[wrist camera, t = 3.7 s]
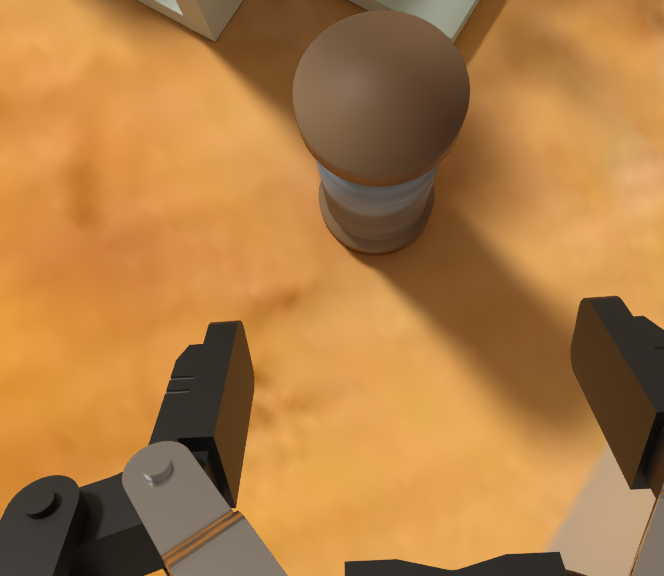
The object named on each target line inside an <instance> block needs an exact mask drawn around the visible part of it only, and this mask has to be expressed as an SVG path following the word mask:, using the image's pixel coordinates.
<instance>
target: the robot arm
mask: <svg viewBox="0 0 664 576" xmlns="http://www.w3.org/2000/svg"><path fill="white" fill-rule="evenodd" d="M571 363H572V368H573V371H574V374H575V376H576V378H577V380H578V382H579V384H580V386H581V388H582V390H583V392H584V395H585V397H586V399H587V401H588V403H589V405H590V407H591V409H592V411H593V413H594V415H595V417H596V419H597V421H598V423H599V426H600V428H601V430H602V432H603V434H604V436H605V438H606V440H607V442H608V444H609V446H610V448H611V450H612V452H613V454H614V457H615V458H616V461H617V463H618V465H619V467H620V469H621V471H622V473H623V475H624V477H625V479H626V481H627V483H628V485H629V487H630V489H649V488H650V489H651V490H652V492H653V494H654V496H655V498H656V500H655V503H654V505H653V508H652V511H651V513H650V516H649V519H648V522H647V525H646V527H645V530H644V533H643V536H642V539H641V541H640V544H639V547H638V550H637V553H636V555H635V558H634V561H633V564H632V566H631V569H630V572H629V575H628V576H664V330H663V329H662V328H660V327H659V326H657V325H656V324H654V323H653V322H652V321H650V320H649V319H647V318H646V317H644V316H634V317H633V315H632V314H631V312H630V311H629V310H628V308H627V307H626V305H625V304H624V302H623V301H622V299H621V298H620V297H618V296H607V297H592V298H583V299H582V300H581V302H580V305H579V310H578V315H577V320H576V325H575V330H574V335H573V340H572V345H571ZM166 391H167V393H166V394H165V396H164V399H163V402H162V405H161V408H160V412H159V415H158V418H157V421H156V424H155V427H154V430H153V433H152V436H151V439H150V442H149V445H148V446H147V447H145V448H143V449H141V450H140V451H138V452H137V453H136V454H135V455H134V456H133V457H132V458H131V459H130V460H129V462H128V463H127V464H126V466H125V468H124V471H123V472H121V473H119V474H117V475H115V476H112V477H110V478H107V479H104V480H101V481H98V482H95V483H92V484H89V485H85V486H82V487H78V485H77V483H76V482H75V481H74V480H73V479H71V478H69V477H66V476H61V475H53V476H48V477H44V478H41V479H39V480H36V481H34V482H32V483H31V484H29V485H27V486H26V487H25V488H23V489H22V490H21V491H20V492H18V493H17V494H16V495H15V496H14V498H13V499H12V500H11V501H10V503H9V504H8V506H7V508H6V509H5V512H4V514H3V516H2V518H1V520H0V576H144V575H147V574H150V573H152V572H155V571H158V570H160V569H163V570H164V572H165V574H166V576H287V574H286V573H285V572H284V570H283V569H282V568H281V566H280V565H279V563H278V562H277V561H276V559H275V558H274V556H273V555H272V554H271V552H270V551H269V550H268V548H267V547H266V545H265V544H264V543H263V541H262V540H261V539H260V537H259V536H258V534H257V533H256V532H255V530H254V529H253V528H252V526H251V525H250V523H249V522H248V521H247V519H246V518H245V517H244V516H243V515H242V514H241V513H240V512H239V511H236V512H235V513H234V512H233V511H232V509H231V508H236V504H237V497H238V491H239V484H240V478H241V471H242V465H243V459H244V452H245V446H246V439H247V433H248V426H249V420H250V414H251V407H252V401H253V394H254V371H253V365H252V361H251V357H250V352H249V348H248V343H247V339H246V335H245V330H244V326H243V323H242V322H241V321H226V322H212V323H210V324H209V326H208V329H207V333H206V336H205V340H204V343H203V344H197V345H189V346H188V347H187V348H186V350H185V351H184V352H183V353H182V354H181V355H180V356H179V358H178V359H177V360H176V362H175V366H174V369H173V372H172V375H171V380H170V381H169V384H168V387H167V390H166ZM345 576H587V575H584V574H580V573H577V572H574V571H570V570H566V569H565V567H564V564H563V561H562V558H561V555H560V552H547V553H525V554H506V555H502V556H499V557H496V558H493V559H490V560H487V561H484V562H480V563H477V564H474V565H471V566H468V567H465V568H462V569H458V570H446V569H441V568H436V567H431V566H427V565H422V564H417V563H412V562H407V561H402V560H398V559H393V560H371V561H349V562H345Z"/></svg>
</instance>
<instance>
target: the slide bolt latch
mask: <svg viewBox="0 0 664 576" xmlns="http://www.w3.org/2000/svg"><path fill="white" fill-rule="evenodd" d="M137 1H139V2H141V3H143V4H145V5H147V6H148V7H150V8H152V9H154V10H156V11H158V12H160V13H162V14H163V15H165V16H167V17H169V18H171V19H173V20H175V21H176V22H178V23H180V24H182V25H184V26H186V27H188V28H189V29H191V30H193V31H195V32H197V33H199V34H201V35H203V36H204V37H206V38H208V39H210V40H212V41H214V42H216V40H217V39H218V37H219V36H220V34H221V33H222V31H223V30H224V28H225V27H226V25H227V24H228V22H229V21H230V19H231V18H232V16H233V15H234V13H235V12H236V10H237V9H238V7H239V6H240V4H241V3H242V1H243V0H137ZM348 1H350V2H352V3H354V4H356V5H358V6H360V7H362V8H364V9H366V10H368V11H375V10H393V11H399V12H404V13H408V14H411V15H415V16H417V17H419V18H422V19H424V20H426V21H428V22H429V23H431V24H433V25H434V26H436V27H437V28H438V29H440V30H441V31H442V32H443V33H444V34H445V35H446V36H447V37H448V38H449V39H450V40H451V41H452V42H453V43H454V42H455V40H456V39H457V37H458V35H459V34H460V32H461V30H462V29H463V27H464V26H465V24H466V22H467V21H468V19H469V17H470V16H471V14H472V13H473V11H474V9H475V8H476V6H477V4H478V3H479V1H480V0H348Z"/></svg>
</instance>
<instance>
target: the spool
mask: <svg viewBox="0 0 664 576" xmlns="http://www.w3.org/2000/svg"><path fill="white" fill-rule="evenodd" d="M469 96H470V85H469V77H468V73H467V68H466V66H465V63H464V61H463V58H462V56H461V54H460V53H459V51H458V49H457V48H456V46H455V45H454V44H453V42H452V41H451V40H450V39H449V38H448V37H447V36H446V35H445V34H444V33H443V32H442V31H441V30H440V29H438V28H437V27H436V26H434V25H433V24H431V23H429V22H428V21H426V20H424V19H422V18H419V17H417V16H415V15H411V14H408V13H404V12H399V11H393V10H375V11H367V12H362V13H357V14H354V15H351V16H348V17H346V18H344V19H342V20H339V21H337V22H336V23H334V24H333V25H331V26H329V27H328V28H327V29H325V30H324V31H323V32H322V33H320V34H319V35H318V36H317V37H316V38H315V39H314V40H313V41H312V43H311V44H310V45H309V47H308V48H307V49H306V51H305V52H304V54H303V56H302V58H301V60H300V62H299V64H298V67H297V69H296V73H295V77H294V82H293V105H294V111H295V115H296V119H297V123H298V126H299V130H300V133H301V136H302V138H303V140H304V142H305V144H306V146H307V148H308V149H309V151H310V152H311V154H312V155H313V156H314V158H315V159H316V160H317V164H318V169H319V173H320V178H321V183H320V187H319V203H320V208H321V212H322V216H323V219H324V222H325V224H326V226H327V228H328V229H329V231H330V232H331V234H332V235H333V236H334V237H335V238H336V239H337V240H338V241H339V242H340V243H341V244H343V245H344V246H346V247H347V248H349V249H351V250H353V251H356V252H359V253H363V254H368V255H383V254H389V253H392V252H395V251H398V250H400V249H402V248H404V247H406V246H407V245H409V244H410V243H411V242H413V241H414V240H415V239H416V238H417V237H418V236H419V235H420V233H421V232H422V230H423V229H424V227H425V225H426V223H427V221H428V219H429V216H430V213H431V210H432V206H433V201H434V188H433V181H434V178H435V175H436V171H437V168H438V165H439V163H440V162H441V161H442V160H443V159H444V158H445V156H446V155H447V154H448V153H449V151H450V150H451V148H452V147H453V145H454V143H455V141H456V139H457V138H458V135H459V132H460V130H461V127H462V124H463V121H464V118H465V116H466V113H467V109H468V104H469Z"/></svg>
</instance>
